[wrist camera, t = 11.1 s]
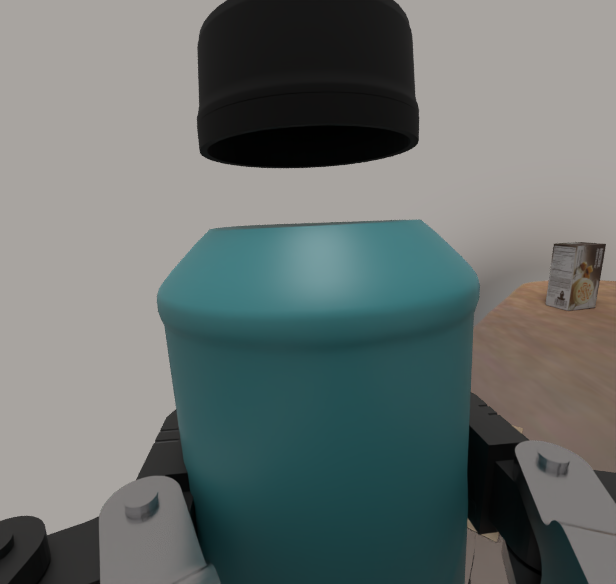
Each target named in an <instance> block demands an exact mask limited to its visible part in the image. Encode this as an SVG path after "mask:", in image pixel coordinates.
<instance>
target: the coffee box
mask: <svg viewBox="0 0 616 584" xmlns="http://www.w3.org/2000/svg"><path fill="white" fill-rule="evenodd" d="M605 246H606V244H597V243H584V242H578V243H577V242H576V243H559V244H554V247H553V255H552V262H551V269H550V277H549V283H548V291H547V298H546V305H548V306H552V307H556V308H559V309H563V310H567V311H571V310H578V309H586V308H594V307H595V305H596V299H597V294H598V287H599V281H600V276H601V270H602V264H603V258H604V252H605Z"/></svg>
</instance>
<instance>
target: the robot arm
mask: <svg viewBox="0 0 616 584" xmlns="http://www.w3.org/2000/svg"><path fill="white" fill-rule="evenodd" d="M468 448H469V452H470V456H471V460H472V465H471V460H470V456H469V452H468V464H467V482H468V496H469V497H470V498H471V499H472V500H473V501H474V502H475V503H476V509H475V505H474V504H473V503H472V502H471V501H470V500H469V499H468V519H469V521H470V522H471V524H472V525H473V527H474V528H475V530H476V531H477V533H478V534H479V535H480V534H488V533H496V532H499V533H500V535H501V536H502V537H503V544H502V558H503V562H504V566H505V571H506V575H507V579H508V583H509V584H616V473H612V472H605V471H597V470H592V468H591V467H590V466H589V464H588V463H587V462H586V461H585V460H584V459H582V458H581V457H580V456H578V455H577V454H575V453H573V452H571V451H570V450H568V449H565V448H563V447H561V446H558V445H555V444H552V443H548V442H543V441H532V440H531V441H530V440H529V439H527V438H526V437H525V436H524V435H523V434H521V433H520V432H519V431H518V430H517V429H516V428H514V427H513V426H512V425H511V424H510V423H508V422H507V421H506V420H505V419H504V418H503V417H501V416H500V415H497V412H495V411H494V410H493V409H492V408H491V407H490V406H489V407H488V406H487V404H486V403H485V402H484V401H482V400H481V399H480V398H479V397H478V396H477V395H475V394H473V393H470V416H469V440H468ZM472 467H473V471H472ZM473 473H474V477H473ZM474 479H475V484H474ZM475 486H476V492H475ZM0 584H221V582H220V580H219V577H218V574H217V572H216V569H215V567H214V565H213V564H212V563H209V564H207V565H206V563H205V560H204V557H203V554H202V551H201V548H200V545H199V542H198V534H197V525H196V517H195V508H194V499H193V496H192V494H191V492H190V486H189V478H188V472H187V469H186V467H185V464H184V460H183V453H182V446H181V439H180V432H179V425H178V417H177V410H175V411H174V412H172V413H171V414H170V415H169V416H168V417H167V418H166V420H165V422H164V424H163V426H162V428H161V430H160V433H159V434H158V436H157V438H156V440H155V443H154V444H153V446H152V449H151V450H150V452H149V454H148V456H147V459H146V461H145V463H144V465H143V467H142V469H141V471H140V473H139V475H138V477H137V479H136V481H133V482H131V483H129V484H127V485H125V486H124V487H122V488H121V489H119V490H118V491H116V492H115V493H114V494H113V495H112V496H111V497H110V498H109V499H108V500H107V501H106V503H105V504H104V506H103V507H102V509H101V512H100V515H99V517H97V518H95V519H92V520H90V521H87V522H85V523H82V524H79V525H76V526H73V527H70V528H68V529H64V530H61V531H58V532H56V533H53V534H50V535H47V534H46V529H45V524H44V523H43V521H42V520H40V519H39V518H36V517H33V516H19V517H13V518H9V519H5V520H2V521H0Z"/></svg>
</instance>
